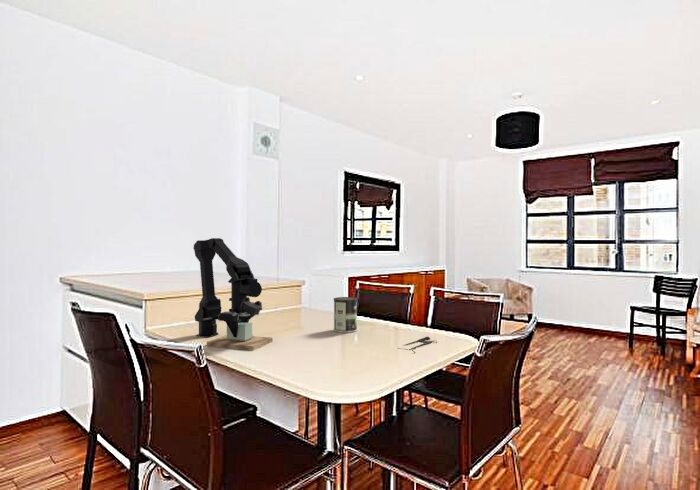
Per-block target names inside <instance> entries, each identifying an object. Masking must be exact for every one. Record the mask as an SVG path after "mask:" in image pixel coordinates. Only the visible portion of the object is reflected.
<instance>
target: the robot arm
mask: <svg viewBox="0 0 700 490" xmlns="http://www.w3.org/2000/svg"><path fill="white" fill-rule="evenodd" d="M193 251H194V256H195V258H196V259H197V260H198V262H199V266H200V267H199V268H200V279H201V282H200V283H201V291H202V296H201V299H200V300H199V303H198V310H197V311H196V313H195V315H194V321H195V322H197V323H198V333H197V334H196V337H204V338H205V337H206V338H210V337H214V336H216V335H219V332H217V331H218V324H217V321H220V322H225V324H226V326H227V325H228V327H229V329H230V331H231V333H232V334H233V336H234V337H237V332H238V323H239V322H247V323H250V322H249V321H250V320H251V319H253V317H255V316H257V315H259V314H260V311H262V310H263V308H262V307H263V303H262V301H260V300H256V301H255V302H254V301H251V300H250V298H251V297H252V298H257V297H259V296H261V294H262V290H263V288H262V285H261V283H260V282H258V278H255V275H254V274H253V272H252V270H251V267H250V264H249V263H248V262H246V260H244V259H242V258H240V257H237V255H235V253H234V252H233V251H232V250H231V249H230V248H229V247H228V245H227V244H226V243H225V242H224V240H223V238H221V237H220V238H219V237H212V238H209V239H204V240H203V239H202V240H199V239H198V240H196V242H194V244H193ZM216 255H217V256H218V257H219V258H220V259H221V261H222V262H223V263H224V264H225V266H226V267H225V268H226V269H225V270H226V272H227V274H228V275H229V277H230V278H229V280H228V281H227V282H228V283H229V284H231V289H230V290H231V293H230V294H231V295H230V296H231V297H230V298H228V301H229V302H230V304H231V306H230V308H228V311H222V303H221V302H222V300H221V298H218V297H217V296H216V290H215V278H214V277H215V276H214V265H213V260H214V258H215V256H216Z"/></svg>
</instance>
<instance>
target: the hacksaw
mask: <svg viewBox="0 0 700 490" xmlns="http://www.w3.org/2000/svg"><path fill="white" fill-rule="evenodd" d="M420 342H421V344H418V345H416V346H413V347H411V348H409V349H407V348H404V350H405V351H412V353H411V354H416V351H415V350H416V349H418V348H420V347H423V346H427V345H430V344H432V343H434V344H436V343H438V340H435V341H434V340H431V338H430V337H429V336H425V337H422V338H420V339H417V340H415V341H412V342H408V343H405V344H402V346H409V345H413V344H417V343H420ZM397 349H398V350H402V348H400V347H397Z"/></svg>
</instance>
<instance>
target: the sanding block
mask: <svg viewBox="0 0 700 490" xmlns="http://www.w3.org/2000/svg"><path fill="white" fill-rule="evenodd" d="M226 335H227V340H236V341H247V340H249V339H252V336H253V322H248V323H247V322H239V323H238V332H237V337H234V336H233V334H232V333H231V331H230V329H229V327H228V325H227V324H226Z"/></svg>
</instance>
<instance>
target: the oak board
mask: <svg viewBox="0 0 700 490" xmlns="http://www.w3.org/2000/svg"><path fill="white" fill-rule="evenodd" d="M273 340H274V339H273V337H266V336H255V335H252V339H249V340H247V341H236V340H227V334H224V335H222V336H219V337H217V338H215V339H211V340H209V341H206V347H214V348H216V347H217V348H222V349H223V348H227V349H235V350H245V351H256V350H257V349H260V348H262V347H264V346H266V345H269V344H270V343H272V342H273Z"/></svg>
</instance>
